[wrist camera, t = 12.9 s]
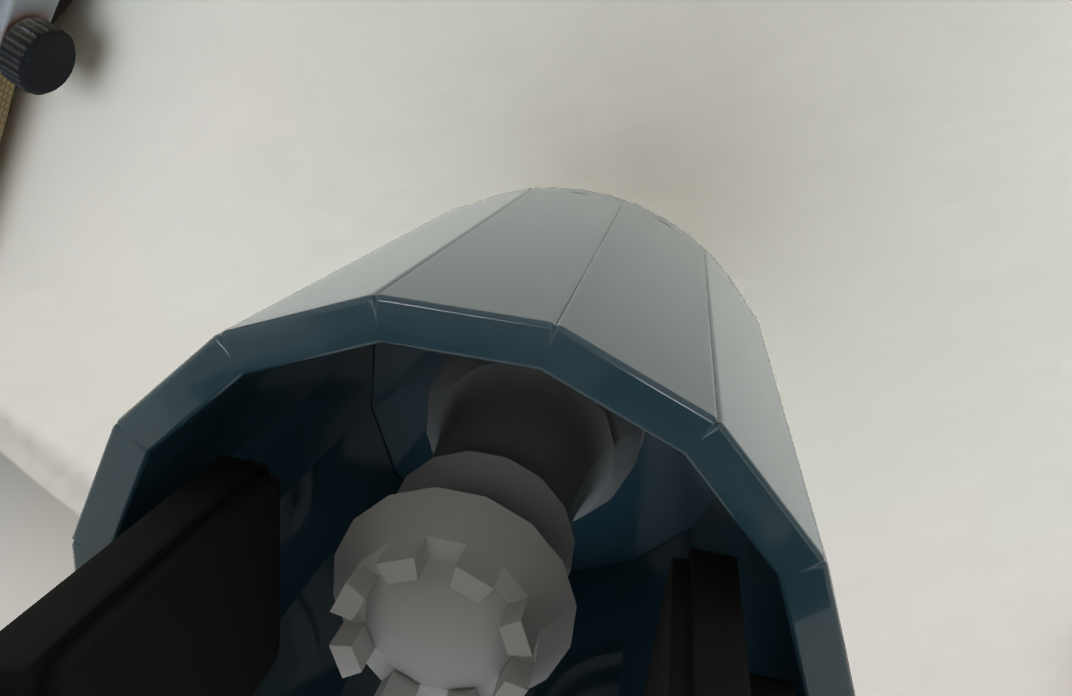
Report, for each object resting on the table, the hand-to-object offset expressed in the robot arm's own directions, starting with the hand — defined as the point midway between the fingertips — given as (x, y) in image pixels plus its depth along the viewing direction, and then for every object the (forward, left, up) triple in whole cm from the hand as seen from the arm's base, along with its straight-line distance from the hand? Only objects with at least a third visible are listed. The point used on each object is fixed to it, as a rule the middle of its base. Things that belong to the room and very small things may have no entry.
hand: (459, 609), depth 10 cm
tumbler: (0, 0, -8) cm, 8 cm away
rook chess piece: (0, 0, -7) cm, 7 cm away
